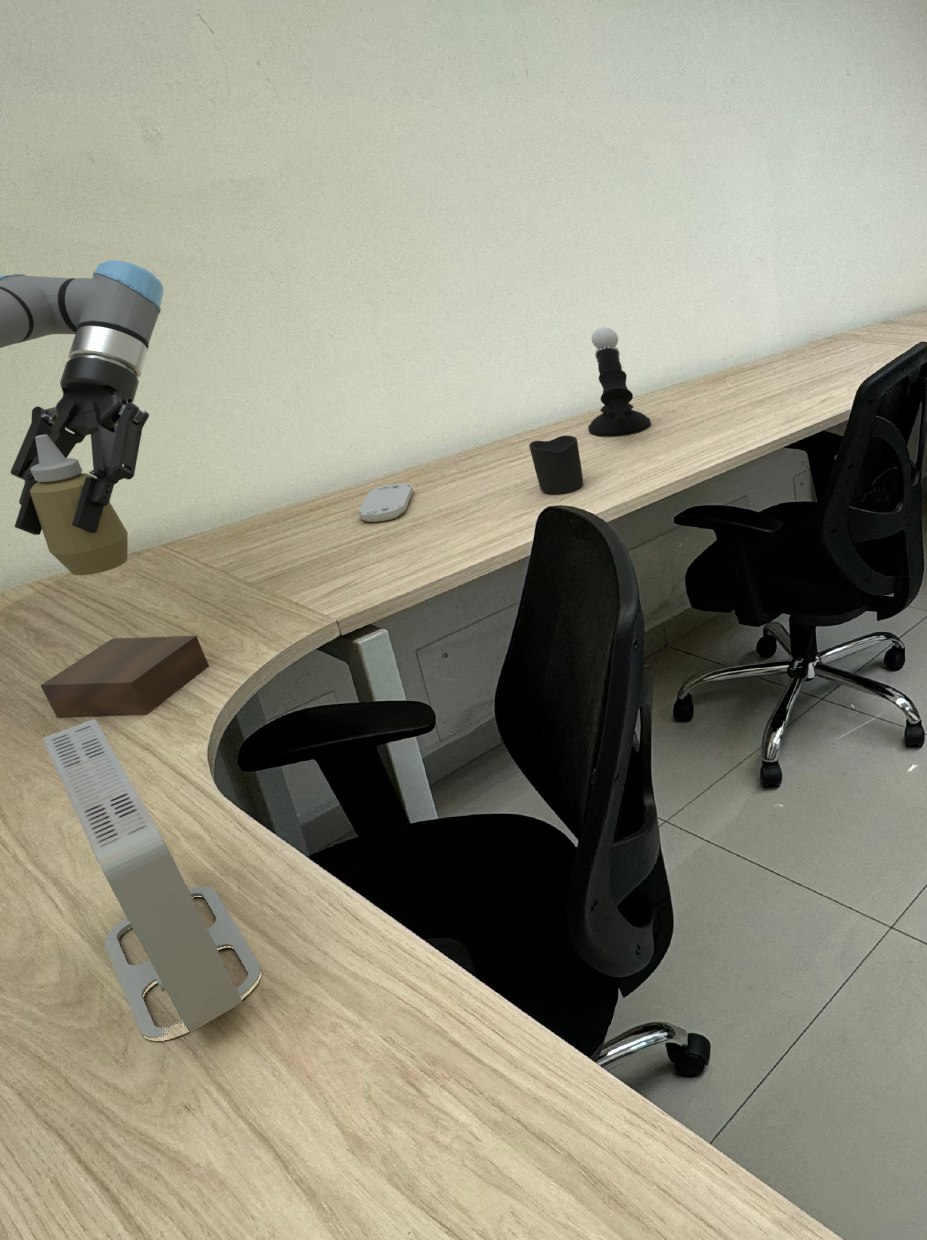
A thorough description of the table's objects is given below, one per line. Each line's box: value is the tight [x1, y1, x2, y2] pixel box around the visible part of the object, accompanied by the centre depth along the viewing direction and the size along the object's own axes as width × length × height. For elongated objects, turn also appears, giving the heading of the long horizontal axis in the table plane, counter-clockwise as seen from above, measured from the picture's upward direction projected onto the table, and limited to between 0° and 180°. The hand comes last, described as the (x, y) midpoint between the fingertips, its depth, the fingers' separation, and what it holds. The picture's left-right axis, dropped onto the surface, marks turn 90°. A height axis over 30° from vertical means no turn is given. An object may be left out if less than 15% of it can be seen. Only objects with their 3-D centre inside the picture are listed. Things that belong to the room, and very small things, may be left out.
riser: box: [40, 635, 210, 718], centre depth 123 cm, size 12×12×5 cm
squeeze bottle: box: [30, 435, 129, 576], centre depth 116 cm, size 8×8×18 cm
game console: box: [357, 482, 414, 523], centre depth 184 cm, size 18×2×8 cm
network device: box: [41, 718, 262, 1038], centre depth 78 cm, size 26×9×20 cm, turn 48°
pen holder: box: [528, 435, 584, 495], centre depth 189 cm, size 9×9×10 cm
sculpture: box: [587, 326, 652, 437], centre depth 221 cm, size 15×24×25 cm, turn 20°
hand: (55, 529), depth 114 cm, fingers closed on squeeze bottle, 6 cm apart
